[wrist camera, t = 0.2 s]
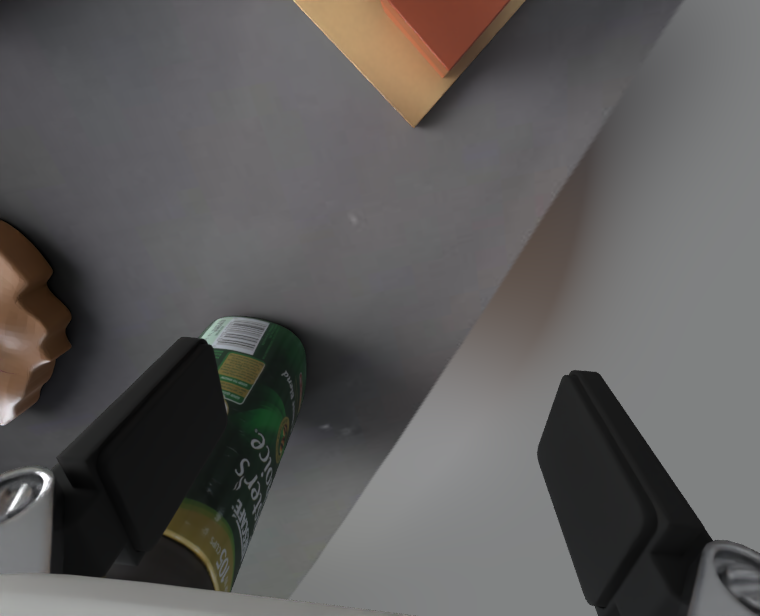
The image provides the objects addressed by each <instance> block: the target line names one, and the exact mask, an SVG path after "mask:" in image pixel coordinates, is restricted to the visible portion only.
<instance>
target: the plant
mask: <svg viewBox="0 0 760 616" xmlns="http://www.w3.org/2000/svg"><path fill="white" fill-rule="evenodd" d="M52 273H53V270H52V268H51V267H50V265H49V264H48V262H47V261H46V260H45V258H44V257H43V256H42V255H41V253H40V252H39V251H38V250H37V249H36V248H35V246H34V245H33V244H32V243H31V242H30V241H29V240H28V239H27V238H26V237H25V236H24V235H22V234H21V233H20V232H19V231H18V230H16V229H15V228H13V227H12V226H11V225H9V224H8V223H5V222H3V221H1V220H0V425H6V424H7V423H9V422H10V421H12V420H13V419H15V418H16V417H17V416H19V415H20V414H21V413H23V412H24V411H25V410H27V409H28V408H29V407H31V406H32V405H33V404H34V403H36V402H37V400H38V399H39V396H40V390H41V387H42V386H43V384H44V383H46V382H47V381H48V380H49V379H50V377H51V375H52V373H53V369H54V366H55V361H56V358H58V357H59V356H61V355H62V354H63V353H65V352H66V351H68V350H69V349H70V348H71V347H72V346H71V344H70V342H69V341H68V339H67V337H66V334H65V329H66V327H67V325H68V323H69V322H70V321H71V313H70V311H69V310H68V308H67V307H66V306H65V305H64V304H63V303H62V302H61V301H60V300H59V299H58V298H57V297H55V296H54V295H53V293H52V292H51V291H50V290H49V288H48V287H47V280H48V279H49V278H50V277H51V275H52Z"/></svg>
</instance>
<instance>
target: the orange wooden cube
mask: <svg viewBox="0 0 760 616" xmlns="http://www.w3.org/2000/svg"><path fill="white" fill-rule="evenodd" d="M380 1H381V4H382V7H383V10H384V12H385V13H386V14H387V15H388V17H389V18H390V19H391V20H392V21H393V22H394V23H395V25H396V26H397V27H398V28H399V29H400V30H401V31H402V33H403V34H404V35H405V36H406V37H407V38H408V39H409V41H410V42H411V43H412V44H413V45H414V46H415V47H416V49H417V50H418V51H419V52H420V53H421V54H422V55H423V57H424V58H425V59H426V60H427V61H428V62H429V63H430V65H431V66H432V67H433V68H434V69H435V70H436V71H437V73H438V74H439V75H440V76H441V77H442V78H444V77H445V76H446V75H447V74H448V73H449V72H450V71H451V69H452V68H453V67H454V66H455V65H456V64H457V62H458V61H459V60H460V59H461V58H462V57H463V55H464V54H465V53H466V52H467V51H468V50H469V48H470V47H471V46H472V45H473V44H474V43H475V41H476V40H477V39H478V38H479V37H480V36H481V34H482V33H483V32H484V31H485V30H486V29H487V27H488V26H489V25H490V24H491V23H492V22H493V20H494V19H495V18H496V17H497V16H498V14H499V13H500V12H501V11H502V10H503V9H504V7H505V6H506V5H507V4H508V3H509V2H510V0H380Z"/></svg>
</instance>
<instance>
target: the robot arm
mask: <svg viewBox="0 0 760 616" xmlns="http://www.w3.org/2000/svg"><path fill="white" fill-rule="evenodd" d="M227 422H228V416H227V411H226V406H225V401H224V397H223V392H222V387H221V382H220V378H219V373H218V368H217V363H216V359H215V354H214V349H213V347H212V345H210V344H208V343H207V341H206V340H205V339H202V338H191V337H181V338H180V339H178V340H177V341H176V342H175V343H174V344H173V345H172V346H171V347H170V348H169V349H168V350H167V351H166V352H165V353H164V354H163V355H162V356H161V357H160V358H159V359H158V360H157V361H156V362H155V363H154V364H153V365H151V366H150V367H149V368H148V369H147V370H146V371H145V372H144V373H143V374H142V375H141V376H140V377H139V378H138V379H137V380H136V381H135V382H134V383H133V384H132V385H131V386H130V387H129V388H128V389H127V390H126V391H125V392H124V393H123V394H122V395H121V396H119V397H118V398H117V399H116V400H115V401H114V402H113V403H112V404H111V405H110V406H109V407H108V408H107V409H106V410H105V411H104V412H103V413H102V414H101V415H100V416H99V417H98V418H97V419H96V420H95V421H94V422H93V423H92V424H91V425H90V426H89V427H87V428H86V429H85V430H84V431H83V432H82V433H81V434H80V435H79V436H78V437H77V438H76V439H75V440H74V441H73V442H72V443H71V444H70V445H69V446H68V447H67V448H66V449H65V450H64V451H63V452H62V453H61V454H60V455H59V456H58V457H57V460H58V463H57V464H56V465H55V466H54V467H53V468H52V469H51V470H49V469H48V468H47V467H43V466H38V465H34V466H24V467H20V468H17V469H13V470H10V471H7V472H5V473H3V474H0V616H414V615H406V614H398V613H390V612H382V611H374V610H367V609H359V608H351V607H343V606H335V605H327V604H319V603H311V602H302V601H294V600H287V599H279V598H271V597H263V596H255V595H247V594H238V593H230V592H222V591H213V590H205V589H197V588H189V587H180V586H172V585H164V584H155V583H147V582H137V581H127V580H117V579H107V578H106V574H107V572H108V571H109V569H110V568H111V566H112V565H113V563H114V564H120V565H128V566H136V567H137V566H138V564H139V563H140V561H141V560H142V558H143V556H144V555H145V553H146V552H149V551H151V550H152V549H153V548H154V547H155V546H156V545H157V543H158V542H159V540H160V538H161V537H162V535H163V533H164V532H165V530H166V528H167V527H168V525H169V523H170V522H171V520H172V518H173V517H174V515H175V513H176V512H177V510H178V508H179V506H180V505H181V503H182V501H183V500H184V498H185V496H186V495H187V493H188V491H189V490H190V488H191V486H192V485H193V483H194V481H195V480H196V478H197V476H198V475H199V473H200V471H201V470H202V468H203V466H204V465H205V463H206V461H207V460H208V458H209V456H210V455H211V453H212V451H213V450H214V448H215V446H216V445H217V443H218V441H219V440H220V438H221V436H222V434H223V433H224V431H225V429H226V426H227ZM537 455H538V461H539V465H540V468H541V471H542V473H543V476H544V479H545V482H546V485H547V488H548V491H549V494H550V497H551V499H552V503H553V505H554V509H555V512H556V514H557V517H558V520H559V523H560V526H561V529H562V532H563V535H564V538H565V541H566V543H567V547H568V550H569V552H570V555H571V558H572V561H573V564H574V567H575V570H576V573H577V576H578V579H579V582H580V585H581V588H582V591H583V593H584V596H585V599H586V600H587V602H588V603H589V604H590V605H592V606H595V608H596V611H597V614H598V616H760V553H758V552H756V551H754V550H752V549H750V548H748V547H746V546H744V545H741V544H738V543H735V542H731V541H727V540H715V541H713V540H712V539H711V537H710V536H709V534H708V533H707V531H706V530H705V528H704V526H703V524H702V523H701V521H700V520H699V519H698V518H697V516H696V514H695V513H694V511H693V510H692V508H691V507H690V505H689V504H688V502H687V501H686V499H685V498H684V497H683V495H682V494H681V492H680V491H679V489H678V488H677V486H676V485H675V483H674V482H673V480H672V479H671V478H670V476H669V475H668V473H667V472H666V470H665V469H664V467H663V466H662V464H661V463H660V462H659V460H658V459H657V457H656V456H655V454H654V453H653V451H652V450H651V448H650V447H649V445H648V444H647V443H646V441H645V440H644V438H643V437H642V435H641V434H640V432H639V431H638V429H637V428H636V427H635V425H634V423H633V422H632V421H631V419H630V418H629V416H628V415H627V413H626V412H625V410H624V409H623V407H622V406H621V404H620V403H619V402H618V400H617V399H616V397H615V396H614V394H613V393H612V391H611V390H610V389H609V387H608V385H607V384H606V383H605V381H604V380H603V378H602V377H601V375H600V374H599V373H597V372H589V371H577V370H574V371H571V372H570V374H569V375H564V376H563V378H562V380H561V383H560V385H559V388H558V391H557V394H556V397H555V400H554V402H553V405H552V409H551V412H550V414H549V417H548V420H547V423H546V426H545V428H544V432H543V434H542V437H541V440H540V443H539V446H538V452H537Z"/></svg>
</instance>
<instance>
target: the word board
mask: <svg viewBox="0 0 760 616" xmlns="http://www.w3.org/2000/svg"><path fill="white" fill-rule="evenodd" d="M293 1H294V2H295V3H296V4H297V5H298V6H299V7H300V8H301V9H302V10H303V11H304V13H305V14H306V15H307V16H308V17H309V18H310V19H311V20H312V21H313V22H314V23H315V24H316V25H317V26H318V27H319V28H320V30H321V31H322V32H323V33H324V34H325V35H326V36H327V37H328V38H329V39H330V40H331V41H332V42H333V43H334V44H335V45H336V46H337V48H338V49H339V50H340V51H341V52H342V53H343V54H344V55H345V56H346V57H347V58H348V59H349V60H350V61H351V62H352V63H353V65H354V66H355V67H356V68H357V69H358V70H359V71H360V72H361V73H362V74H363V75H364V76H365V77H366V78H367V79H368V80H369V82H370V83H371V84H372V85H373V86H374V87H375V88H376V89H377V90H378V91H379V92H380V93H381V94H382V95H383V96H384V97H385V99H386V100H387V101H388V102H389V103H390V104H391V105H392V106H393V107H394V108H395V109H396V110H397V111H398V112H399V113H400V114H401V115H402V117H403V118H404V119H405V120H406V121H407V122H408V123H409V124H410V125H411V126H412V127H413V128H415V127H416V126H417V124H418V123H419V122H420V121H421V120H422V119H423V118H424V116H425V115H426V114H427V113H428V112H429V111H430V110H431V108H432V107H433V106H434V105H435V104H436V103H437V101H438V100H439V99H440V98H441V97H442V96H443V95H444V93H445V92H446V91H447V90H448V89H449V88H450V87H451V85H452V84H453V83H454V82H455V81H456V80H457V79H458V77H459V76H460V75H461V74H462V73H463V72H464V71H465V69H466V68H467V67H468V66H469V65H470V64H471V63H472V61H473V60H474V59H475V58H476V57H477V56H478V54H479V53H480V52H481V51H482V50H483V49H484V48H485V46H486V45H487V44H488V43H489V42H490V41H491V40H492V38H493V37H494V36H495V35H496V34H497V33H498V32H499V30H500V29H501V28H502V27H503V26H504V25H505V24H506V22H507V21H508V20H509V19H510V18H511V17H512V16H513V14H514V13H515V12H516V11H517V10H518V9H519V8H520V6H521V5H522V4H523V3H524V2H525V1H526V0H510V2H509V3H508V4H507V5H506V6H505V7H504V9H503V10H502V11H501V12H500V13H499V14H498V16H497V17H496V18H495V19H494V20H493V22H492V23H491V24H490V25H489V26H488V27H487V29H486V30H485V31H484V32H483V33H482V34H481V36H480V37H479V38H478V39H477V40H476V41H475V43H474V44H473V45H472V46H471V47H470V48H469V50H468V51H467V52H466V53H465V54H464V55H463V57H462V58H461V59H460V60H459V61H458V62H457V64H456V65H455V66H454V67H453V68H452V69H451V71H450V72H449V73H448V74H447V75H446V76H445V77H444V78H442V77H441V76H440V75H439V74H438V73H437V71H436V70H435V69H434V68H433V67H432V66H431V65H430V63H429V62H428V61H427V60H426V59H425V58H424V57H423V55H422V54H421V53H420V52H419V51H418V50H417V49H416V47H415V46H414V45H413V44H412V43H411V42H410V41H409V39H408V38H407V37H406V36H405V35H404V34H403V33H402V31H401V30H400V29H399V28H398V27H397V26H396V25H395V23H394V22H393V21H392V20H391V19H390V18H389V17H388V15H387V14H386V13H385V12H384V10H383V7H382V4H381V1H380V0H293Z"/></svg>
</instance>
